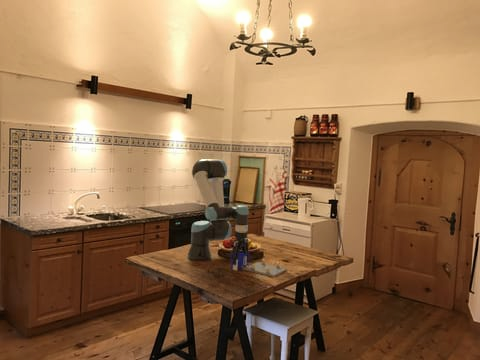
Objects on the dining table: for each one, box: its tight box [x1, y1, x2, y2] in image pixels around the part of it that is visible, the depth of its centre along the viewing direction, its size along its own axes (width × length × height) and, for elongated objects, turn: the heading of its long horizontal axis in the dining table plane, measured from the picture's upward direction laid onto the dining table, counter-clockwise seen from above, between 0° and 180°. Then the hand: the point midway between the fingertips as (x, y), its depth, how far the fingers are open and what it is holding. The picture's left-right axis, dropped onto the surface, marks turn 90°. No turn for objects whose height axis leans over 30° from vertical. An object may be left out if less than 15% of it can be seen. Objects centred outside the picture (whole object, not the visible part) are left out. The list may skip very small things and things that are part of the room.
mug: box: [229, 249, 251, 270], centre depth 242 cm, size 8×12×10 cm
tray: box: [243, 258, 287, 278], centre depth 241 cm, size 20×16×4 cm
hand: (239, 267), depth 243 cm, fingers open, 9 cm apart
